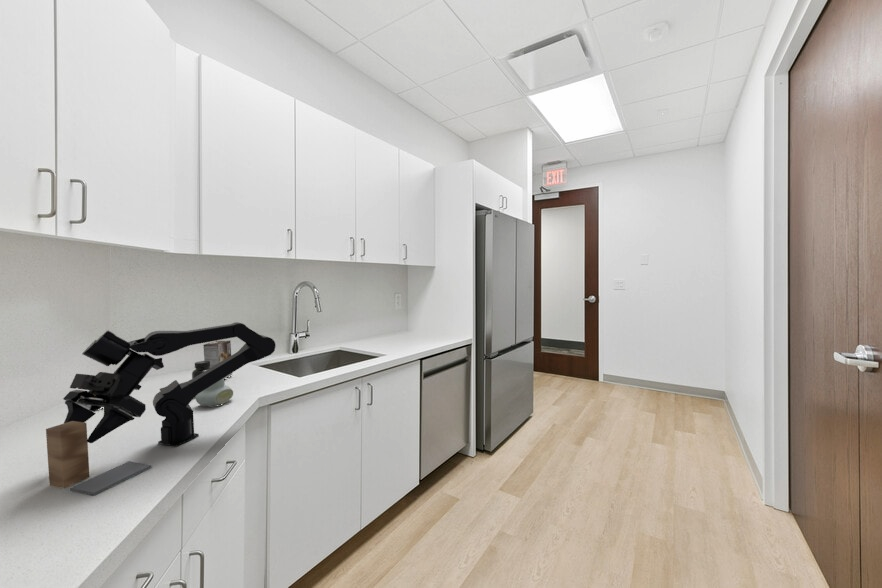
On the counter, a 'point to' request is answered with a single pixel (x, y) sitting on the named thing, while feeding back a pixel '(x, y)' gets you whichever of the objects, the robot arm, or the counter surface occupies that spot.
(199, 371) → the supplement bottle
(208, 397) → the air freshener
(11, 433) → the counter surface
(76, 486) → the rubber mat
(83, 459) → the walnut block
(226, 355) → the coffee box
